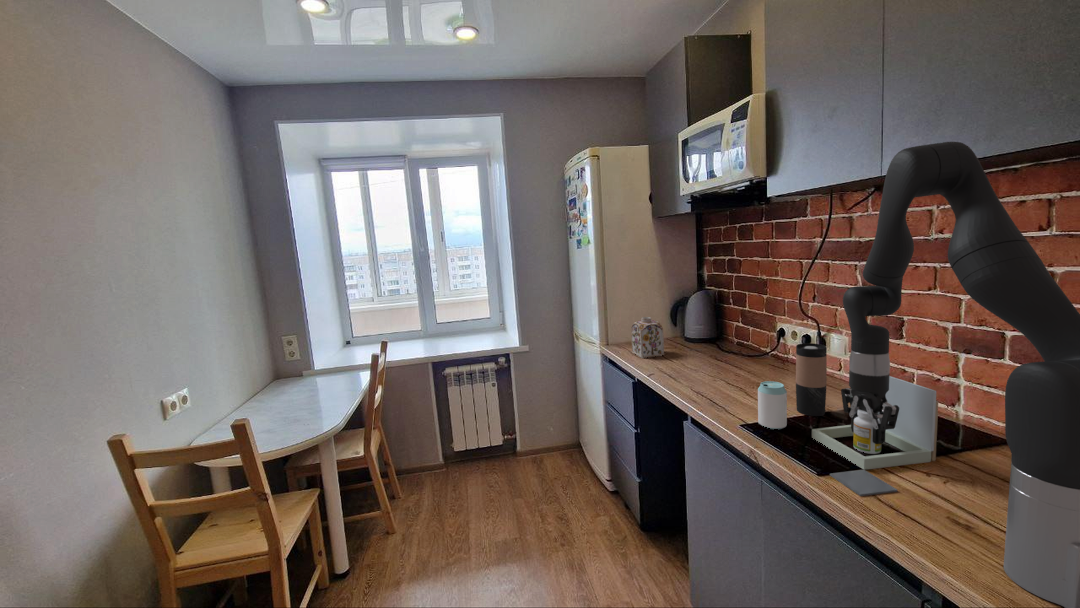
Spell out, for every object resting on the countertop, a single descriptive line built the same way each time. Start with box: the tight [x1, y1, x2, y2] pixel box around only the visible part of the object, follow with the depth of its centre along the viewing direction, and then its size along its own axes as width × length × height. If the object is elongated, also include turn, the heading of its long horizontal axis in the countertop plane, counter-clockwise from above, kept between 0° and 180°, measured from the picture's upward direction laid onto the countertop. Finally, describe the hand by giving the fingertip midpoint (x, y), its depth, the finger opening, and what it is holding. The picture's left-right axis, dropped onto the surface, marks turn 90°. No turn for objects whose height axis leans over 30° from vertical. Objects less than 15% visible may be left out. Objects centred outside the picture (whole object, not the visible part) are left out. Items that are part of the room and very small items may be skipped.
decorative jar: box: [630, 316, 665, 359], centre depth 202 cm, size 12×12×18 cm
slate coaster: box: [829, 469, 898, 497], centre depth 88 cm, size 8×8×1 cm
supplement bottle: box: [852, 409, 882, 455], centre depth 101 cm, size 5×5×10 cm
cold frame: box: [811, 375, 939, 471], centre depth 101 cm, size 16×17×16 cm
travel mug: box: [795, 342, 828, 417], centre depth 124 cm, size 8×8×20 cm
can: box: [757, 380, 788, 430], centre depth 117 cm, size 7×7×12 cm
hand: (867, 437), depth 101 cm, fingers closed on supplement bottle, 5 cm apart
